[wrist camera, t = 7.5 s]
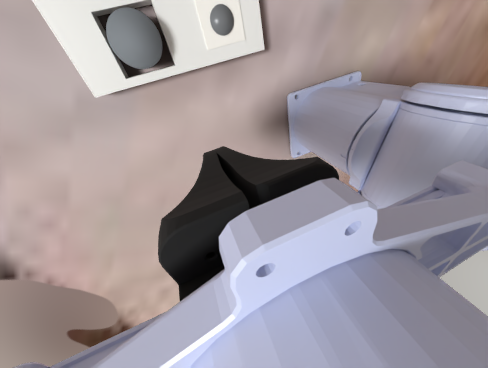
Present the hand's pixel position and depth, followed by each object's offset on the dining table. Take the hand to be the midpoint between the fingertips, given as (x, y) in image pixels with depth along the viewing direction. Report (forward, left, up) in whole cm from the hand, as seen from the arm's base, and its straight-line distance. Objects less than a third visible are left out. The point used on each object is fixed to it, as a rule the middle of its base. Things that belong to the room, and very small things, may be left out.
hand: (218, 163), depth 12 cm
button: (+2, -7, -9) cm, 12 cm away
